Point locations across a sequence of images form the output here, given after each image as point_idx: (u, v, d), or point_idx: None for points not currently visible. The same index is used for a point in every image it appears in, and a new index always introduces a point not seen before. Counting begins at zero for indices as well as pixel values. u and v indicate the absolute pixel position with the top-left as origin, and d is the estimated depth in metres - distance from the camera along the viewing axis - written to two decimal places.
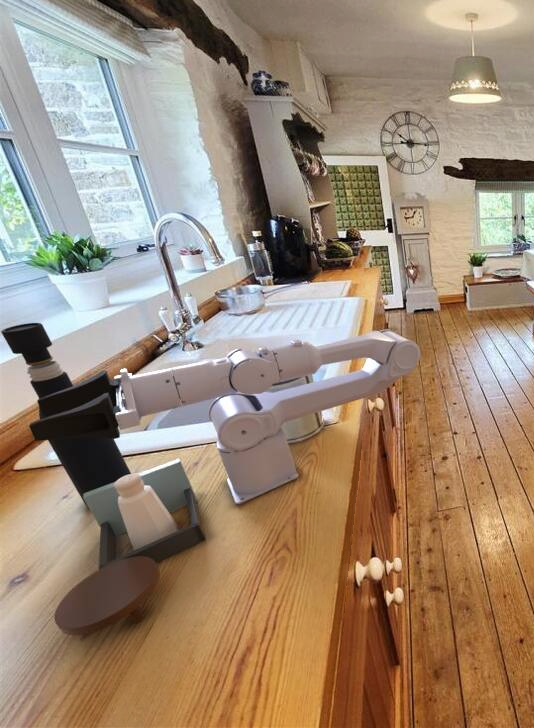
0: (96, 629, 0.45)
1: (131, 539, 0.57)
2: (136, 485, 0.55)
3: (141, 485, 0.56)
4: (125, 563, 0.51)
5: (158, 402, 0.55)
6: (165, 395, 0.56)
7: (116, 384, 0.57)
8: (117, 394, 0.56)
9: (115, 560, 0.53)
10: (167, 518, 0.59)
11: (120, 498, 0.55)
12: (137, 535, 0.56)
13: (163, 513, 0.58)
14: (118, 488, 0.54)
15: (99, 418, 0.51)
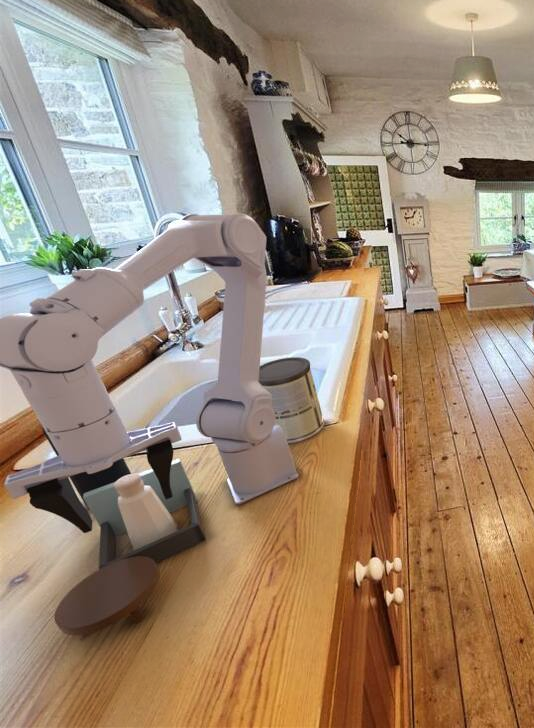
0: (96, 629, 0.45)
1: (131, 539, 0.57)
2: (136, 485, 0.55)
3: (141, 485, 0.56)
4: (125, 563, 0.51)
5: None
6: (119, 418, 0.47)
7: (54, 482, 0.45)
8: None
9: (115, 560, 0.53)
10: (167, 518, 0.59)
11: (120, 498, 0.55)
12: (137, 535, 0.56)
13: (163, 513, 0.58)
14: (118, 488, 0.54)
15: None
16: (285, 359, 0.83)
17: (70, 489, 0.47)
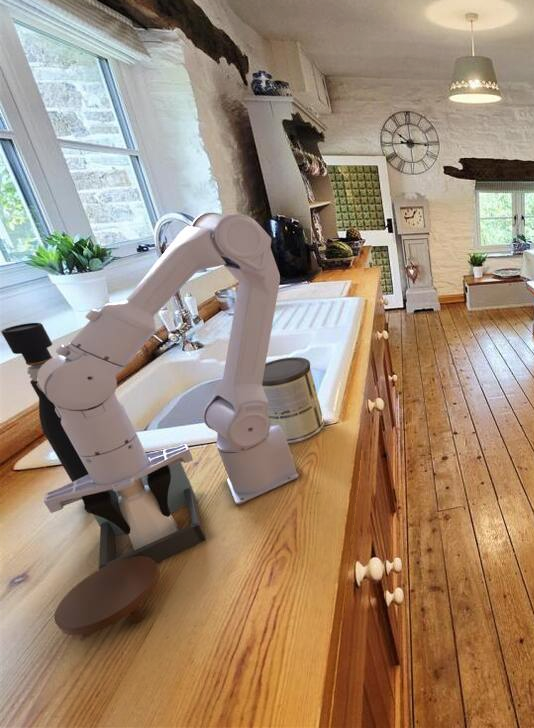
0: (96, 629, 0.45)
1: (131, 539, 0.57)
2: (136, 485, 0.55)
3: (141, 485, 0.56)
4: (125, 563, 0.51)
5: (142, 446, 0.56)
6: (140, 442, 0.55)
7: (84, 498, 0.52)
8: None
9: (115, 560, 0.53)
10: (167, 518, 0.59)
11: (120, 498, 0.55)
12: (137, 535, 0.56)
13: None
14: None
15: None
16: (285, 359, 0.83)
17: (115, 497, 0.56)
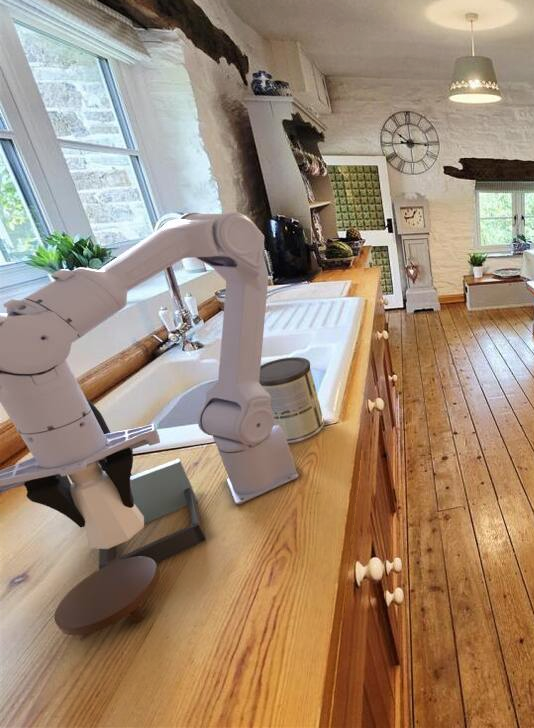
0: (96, 629, 0.45)
1: (87, 533, 0.49)
2: (92, 469, 0.48)
3: (98, 470, 0.48)
4: (125, 563, 0.51)
5: None
6: (95, 420, 0.47)
7: (27, 484, 0.44)
8: None
9: (115, 560, 0.53)
10: (130, 509, 0.51)
11: (73, 485, 0.48)
12: (93, 528, 0.49)
13: None
14: None
15: None
16: (285, 359, 0.83)
17: (67, 484, 0.48)
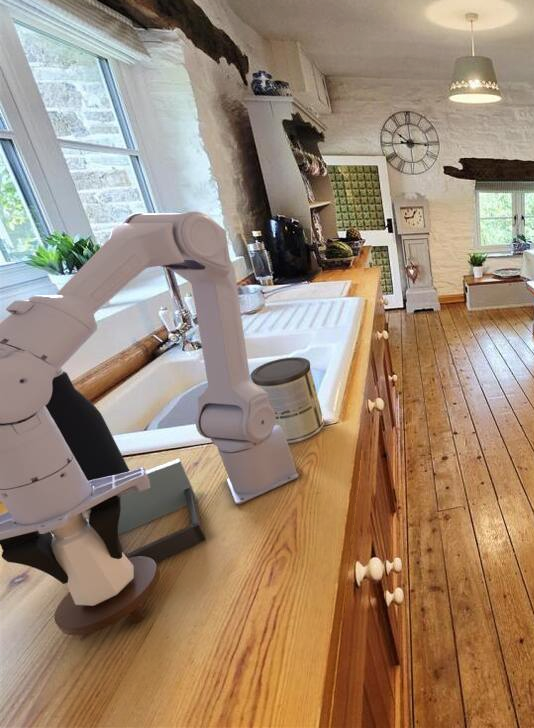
0: (96, 629, 0.45)
1: (70, 589, 0.45)
2: (75, 522, 0.43)
3: (82, 521, 0.44)
4: None
5: (82, 472, 0.44)
6: (78, 468, 0.43)
7: (3, 542, 0.40)
8: None
9: None
10: (118, 560, 0.47)
11: (54, 538, 0.44)
12: (77, 585, 0.45)
13: None
14: None
15: None
16: (285, 359, 0.83)
17: (48, 537, 0.44)
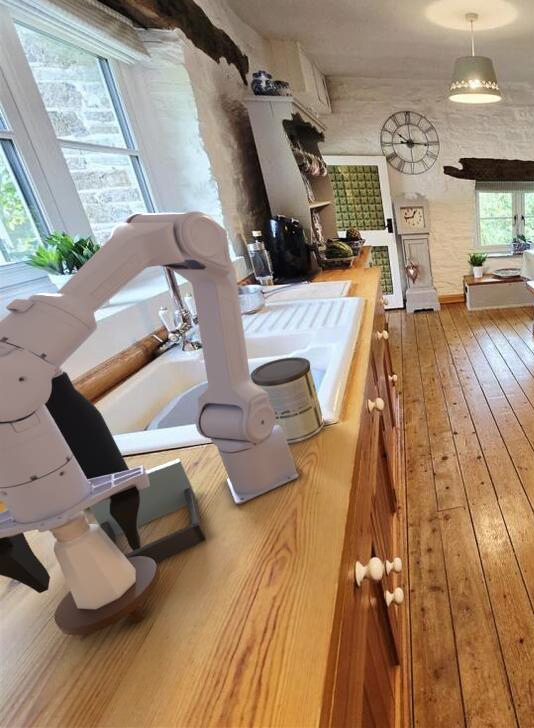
0: (96, 629, 0.45)
1: (73, 593, 0.45)
2: (78, 526, 0.44)
3: (85, 525, 0.44)
4: None
5: None
6: (78, 467, 0.43)
7: (2, 541, 0.40)
8: None
9: None
10: (120, 564, 0.47)
11: (57, 542, 0.44)
12: (80, 588, 0.45)
13: (115, 558, 0.47)
14: (53, 531, 0.43)
15: None
16: (285, 359, 0.83)
17: (23, 545, 0.43)
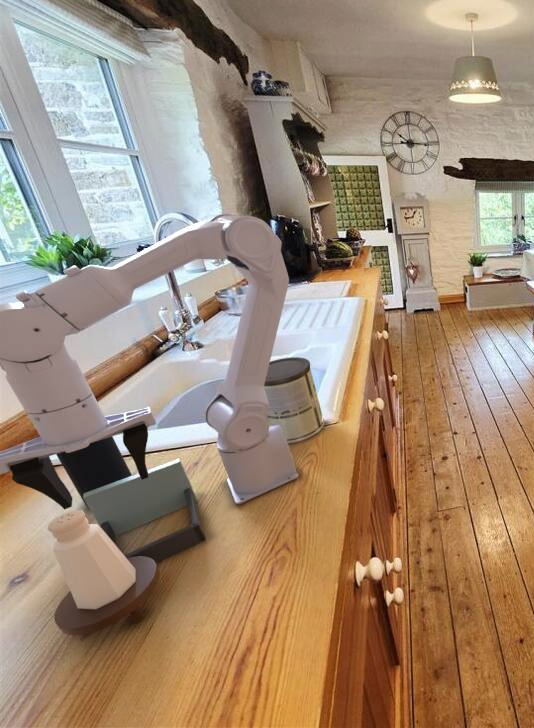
0: (96, 629, 0.45)
1: (73, 593, 0.45)
2: (78, 526, 0.44)
3: (85, 525, 0.44)
4: None
5: (99, 407, 0.52)
6: (96, 403, 0.51)
7: (35, 461, 0.49)
8: None
9: None
10: (120, 564, 0.47)
11: (57, 542, 0.44)
12: (80, 588, 0.45)
13: (115, 558, 0.47)
14: (53, 531, 0.43)
15: None
16: (285, 359, 0.83)
17: (51, 468, 0.51)
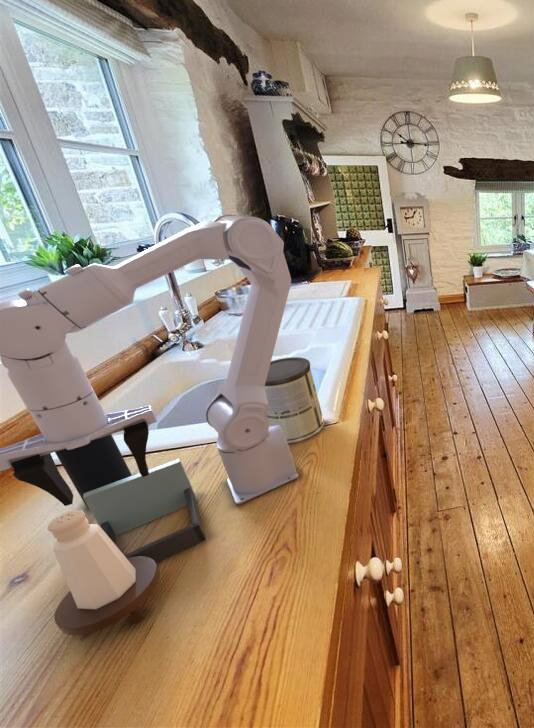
0: (96, 629, 0.45)
1: (73, 593, 0.45)
2: (78, 526, 0.44)
3: (85, 525, 0.44)
4: None
5: (100, 404, 0.52)
6: (97, 400, 0.52)
7: (36, 457, 0.49)
8: None
9: None
10: (120, 564, 0.47)
11: (57, 542, 0.44)
12: (80, 588, 0.45)
13: (115, 558, 0.47)
14: (53, 531, 0.43)
15: None
16: (285, 359, 0.83)
17: (52, 465, 0.51)
